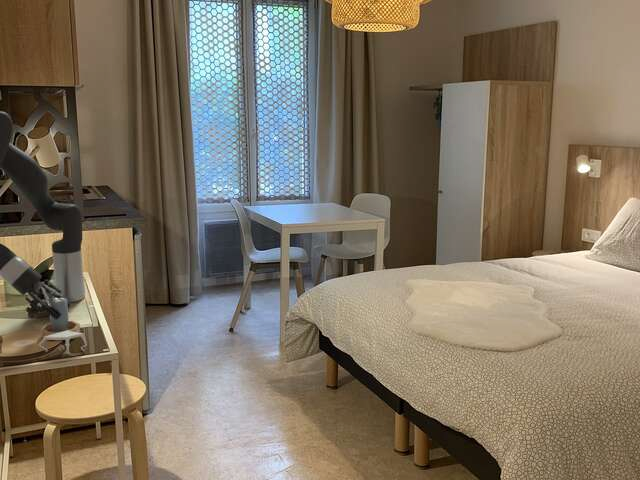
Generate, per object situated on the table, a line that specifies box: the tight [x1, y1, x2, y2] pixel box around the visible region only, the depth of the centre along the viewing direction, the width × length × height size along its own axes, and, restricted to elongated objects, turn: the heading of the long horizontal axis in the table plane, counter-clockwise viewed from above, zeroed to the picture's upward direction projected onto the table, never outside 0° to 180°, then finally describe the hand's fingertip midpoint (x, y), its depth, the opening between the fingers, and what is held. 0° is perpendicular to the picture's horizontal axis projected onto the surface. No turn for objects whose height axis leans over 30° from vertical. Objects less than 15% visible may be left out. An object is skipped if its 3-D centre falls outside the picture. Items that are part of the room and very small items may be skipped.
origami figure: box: [37, 330, 88, 355], centre depth 181 cm, size 12×8×5 cm
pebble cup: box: [49, 298, 70, 332], centre depth 191 cm, size 5×5×11 cm
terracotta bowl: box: [40, 320, 81, 341], centre depth 192 cm, size 10×10×2 cm
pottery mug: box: [25, 299, 51, 319], centre depth 206 cm, size 12×10×8 cm
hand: (63, 312), depth 191 cm, fingers open, 8 cm apart
